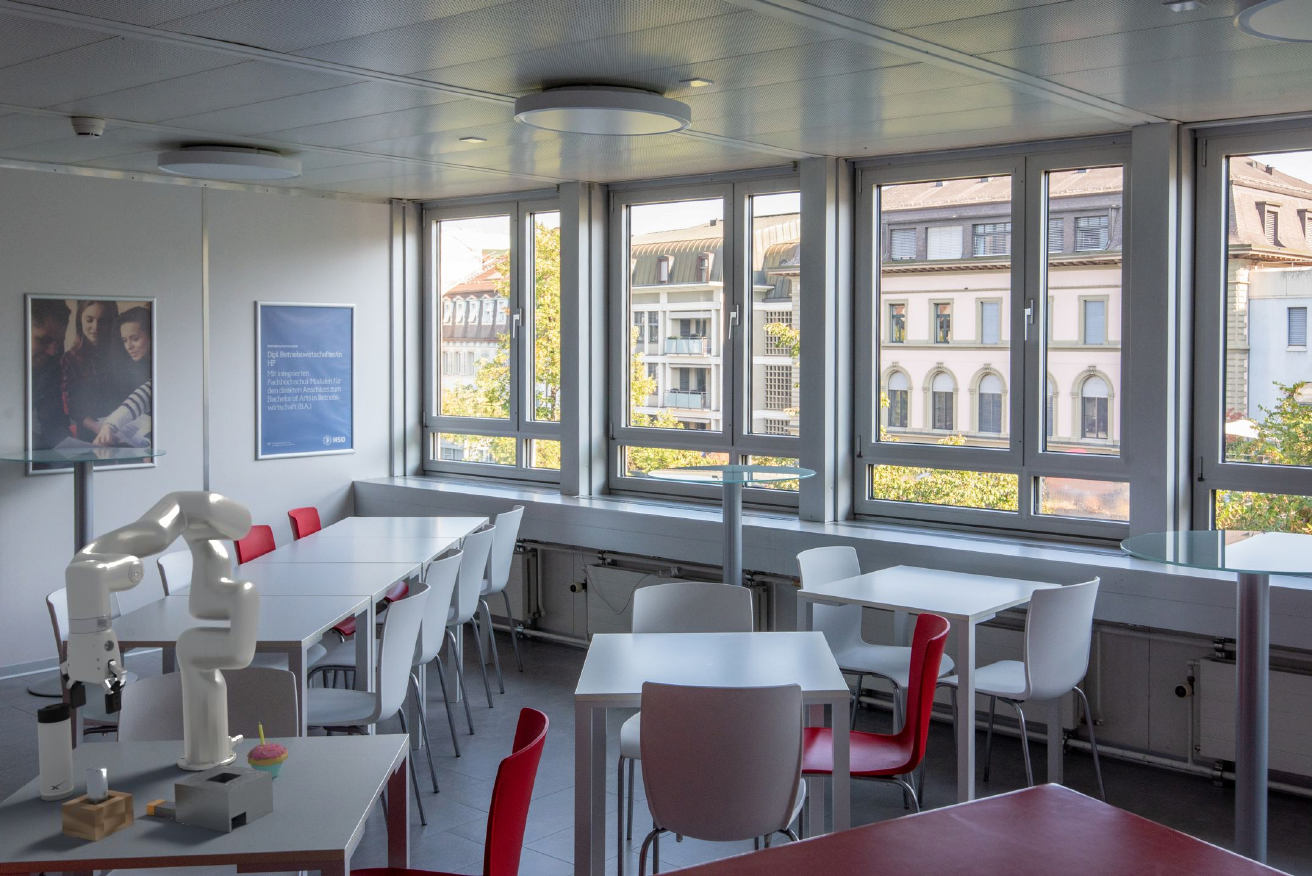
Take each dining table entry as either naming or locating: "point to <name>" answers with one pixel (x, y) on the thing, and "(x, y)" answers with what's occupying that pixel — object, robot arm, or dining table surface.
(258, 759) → the cupcake
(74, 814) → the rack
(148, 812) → the bar
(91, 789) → the peg
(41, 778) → the travel mug
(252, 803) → the socket block
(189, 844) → the dining table surface
